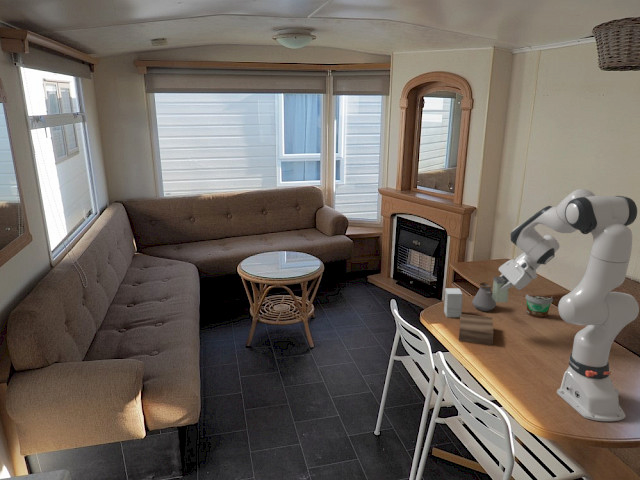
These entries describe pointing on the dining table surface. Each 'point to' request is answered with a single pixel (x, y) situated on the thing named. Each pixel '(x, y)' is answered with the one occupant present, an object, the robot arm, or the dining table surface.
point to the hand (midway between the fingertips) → (499, 286)
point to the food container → (538, 306)
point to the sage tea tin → (497, 292)
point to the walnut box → (476, 329)
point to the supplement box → (453, 302)
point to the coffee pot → (484, 298)
